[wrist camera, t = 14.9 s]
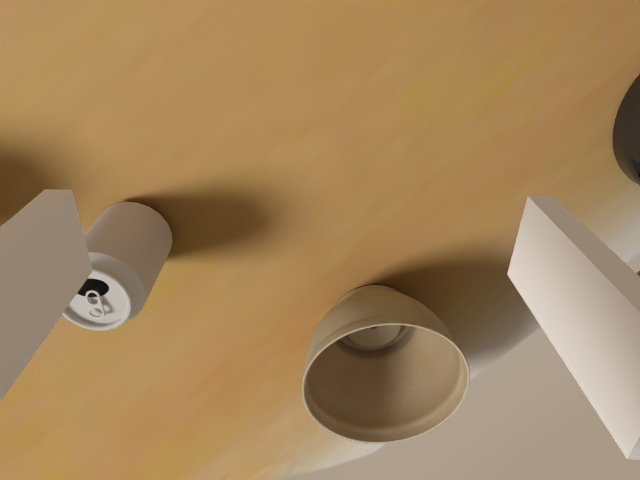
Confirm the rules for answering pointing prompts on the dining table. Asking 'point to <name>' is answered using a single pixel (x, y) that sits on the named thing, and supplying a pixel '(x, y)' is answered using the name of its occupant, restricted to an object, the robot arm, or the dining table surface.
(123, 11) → the dining table surface
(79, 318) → the can
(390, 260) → the dining table surface
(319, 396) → the planter bowl
